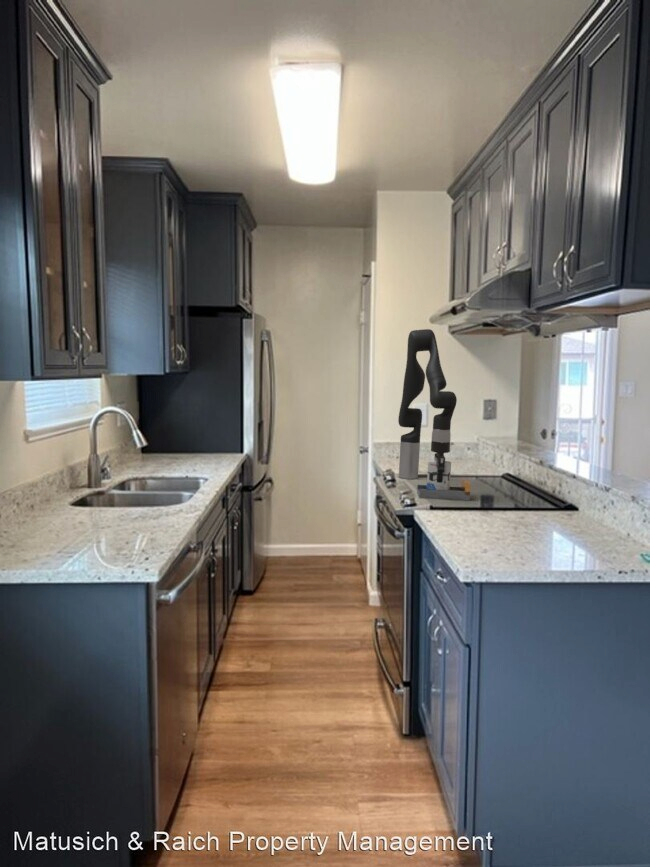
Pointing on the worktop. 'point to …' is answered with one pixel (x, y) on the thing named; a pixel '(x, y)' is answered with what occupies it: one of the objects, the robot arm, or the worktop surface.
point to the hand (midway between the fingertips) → (438, 480)
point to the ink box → (432, 476)
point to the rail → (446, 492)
